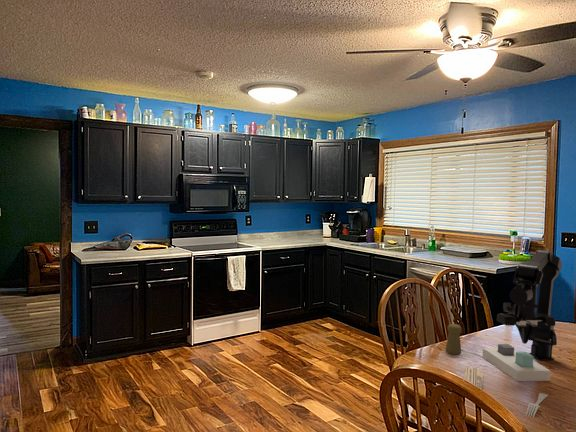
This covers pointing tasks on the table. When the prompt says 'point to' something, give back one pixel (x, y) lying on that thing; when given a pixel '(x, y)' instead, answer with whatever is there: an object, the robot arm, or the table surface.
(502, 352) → the dark grey cube
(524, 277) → the robot arm
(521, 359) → the teal green cube
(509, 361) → the white socket board
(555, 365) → the table surface
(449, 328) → the olive brown upright piece
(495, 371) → the table surface
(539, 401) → the fork
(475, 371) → the newspaper
